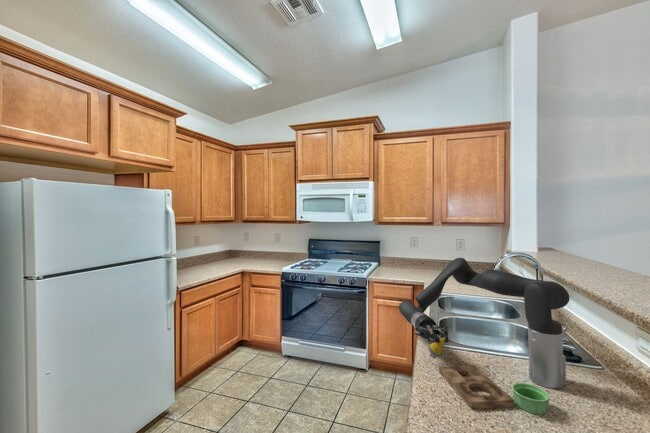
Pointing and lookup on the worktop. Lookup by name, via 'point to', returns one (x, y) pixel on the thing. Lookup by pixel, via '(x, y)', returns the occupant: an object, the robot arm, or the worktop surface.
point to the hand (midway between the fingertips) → (442, 340)
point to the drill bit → (436, 348)
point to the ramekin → (531, 398)
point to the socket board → (475, 387)
